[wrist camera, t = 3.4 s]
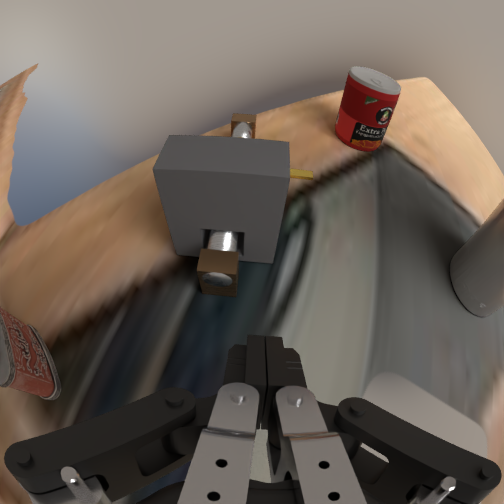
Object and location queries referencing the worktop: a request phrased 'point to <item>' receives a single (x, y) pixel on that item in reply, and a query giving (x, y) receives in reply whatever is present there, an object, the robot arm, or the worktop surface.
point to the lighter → (26, 359)
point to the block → (224, 192)
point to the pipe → (229, 233)
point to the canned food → (366, 108)
